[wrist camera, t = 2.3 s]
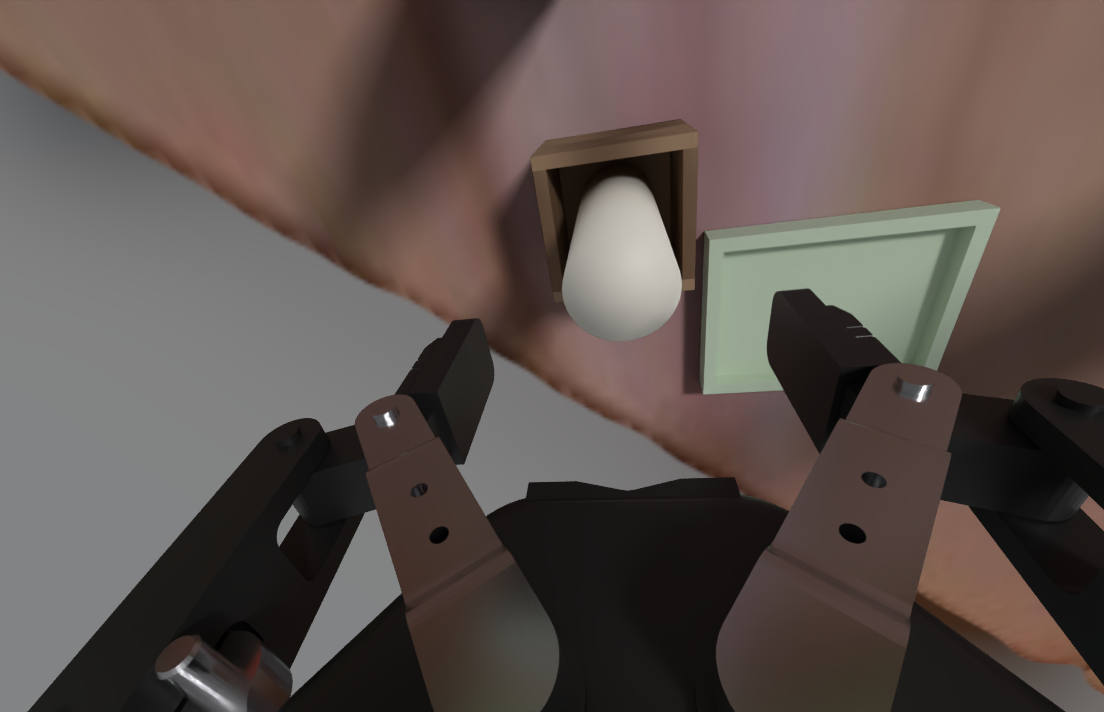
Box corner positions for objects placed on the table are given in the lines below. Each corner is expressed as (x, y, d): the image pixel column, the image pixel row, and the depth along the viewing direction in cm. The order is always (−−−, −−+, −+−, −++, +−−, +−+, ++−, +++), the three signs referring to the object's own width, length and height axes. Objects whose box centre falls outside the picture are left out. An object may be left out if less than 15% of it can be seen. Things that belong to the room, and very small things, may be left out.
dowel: (651, 158, 23) (682, 224, 13) (653, 232, 25) (681, 337, 15) (577, 169, 24) (553, 240, 14) (585, 240, 26) (570, 344, 16)
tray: (978, 199, 23) (1000, 207, 22) (917, 368, 29) (932, 382, 28) (704, 231, 26) (709, 240, 24) (699, 380, 31) (703, 394, 30)
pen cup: (680, 119, 23) (698, 131, 18) (679, 251, 26) (694, 289, 22) (545, 140, 24) (530, 157, 19) (563, 264, 28) (554, 302, 23)
